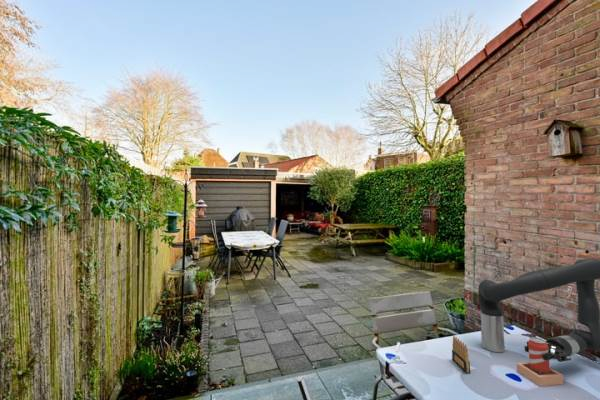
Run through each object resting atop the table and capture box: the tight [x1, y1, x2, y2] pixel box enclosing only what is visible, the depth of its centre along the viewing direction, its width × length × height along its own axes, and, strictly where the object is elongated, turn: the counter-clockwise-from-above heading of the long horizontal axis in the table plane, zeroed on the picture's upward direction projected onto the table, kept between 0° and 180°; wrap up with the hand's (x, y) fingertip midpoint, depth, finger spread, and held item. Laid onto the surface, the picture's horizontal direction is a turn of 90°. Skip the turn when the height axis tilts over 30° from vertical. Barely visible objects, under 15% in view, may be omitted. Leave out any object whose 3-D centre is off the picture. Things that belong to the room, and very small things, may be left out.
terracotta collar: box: [516, 361, 565, 387], centre depth 115 cm, size 10×10×4 cm
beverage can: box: [528, 336, 551, 374], centre depth 116 cm, size 6×6×12 cm
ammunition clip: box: [451, 335, 471, 374], centre depth 125 cm, size 11×2×12 cm, turn 1°
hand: (534, 353), depth 115 cm, fingers closed on beverage can, 6 cm apart
